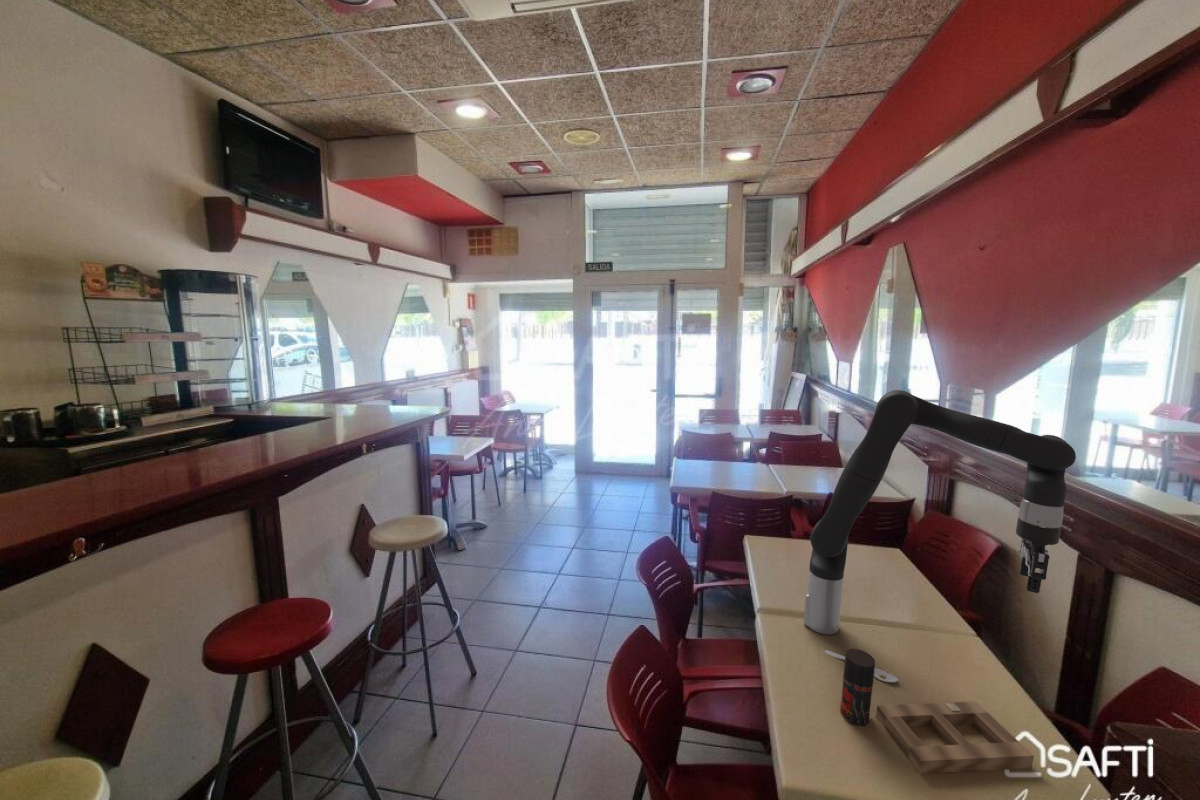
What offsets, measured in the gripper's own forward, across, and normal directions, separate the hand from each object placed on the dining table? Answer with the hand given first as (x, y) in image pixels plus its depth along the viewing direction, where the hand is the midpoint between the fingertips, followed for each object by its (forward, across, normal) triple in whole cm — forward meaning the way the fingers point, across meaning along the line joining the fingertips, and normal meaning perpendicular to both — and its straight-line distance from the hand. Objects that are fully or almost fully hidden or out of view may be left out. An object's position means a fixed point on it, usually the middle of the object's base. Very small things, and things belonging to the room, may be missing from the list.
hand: (1028, 583), depth 113 cm
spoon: (+30, +12, -34) cm, 47 cm away
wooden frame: (+29, +27, -14) cm, 42 cm away
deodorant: (+29, +31, -32) cm, 53 cm away
